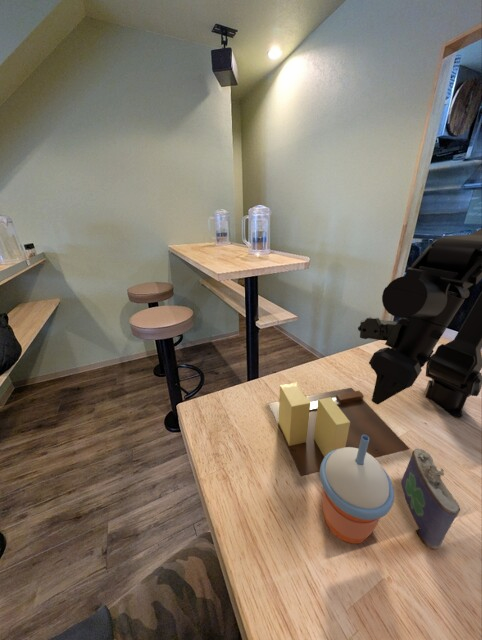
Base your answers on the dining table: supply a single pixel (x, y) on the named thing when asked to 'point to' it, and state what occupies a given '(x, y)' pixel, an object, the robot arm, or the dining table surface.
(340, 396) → the knife
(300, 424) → the butter block
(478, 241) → the robot arm
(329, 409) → the block
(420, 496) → the flask
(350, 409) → the board
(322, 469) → the cup with straw
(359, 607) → the dining table surface
